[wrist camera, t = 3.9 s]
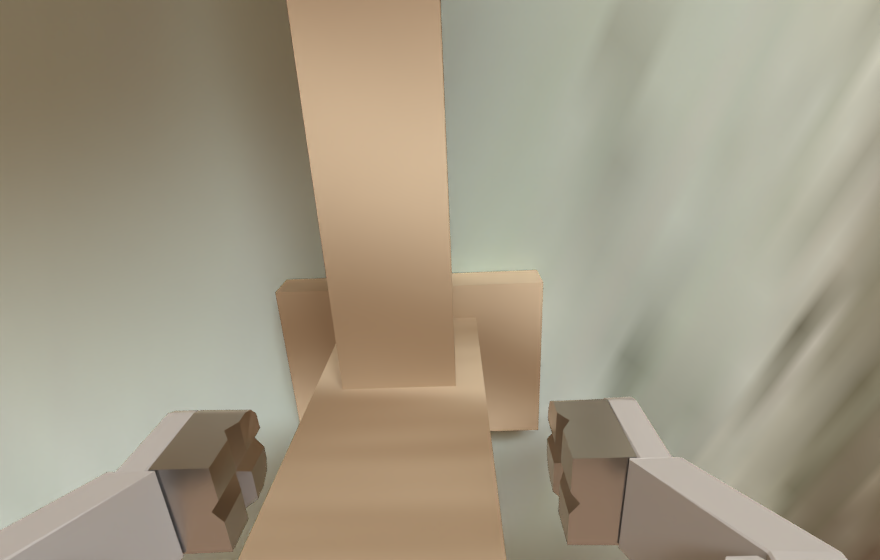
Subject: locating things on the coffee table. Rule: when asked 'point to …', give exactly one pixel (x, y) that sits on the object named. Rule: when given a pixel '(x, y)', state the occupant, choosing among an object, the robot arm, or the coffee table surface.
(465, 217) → the coffee table surface
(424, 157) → the hook tool
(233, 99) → the coffee table surface
